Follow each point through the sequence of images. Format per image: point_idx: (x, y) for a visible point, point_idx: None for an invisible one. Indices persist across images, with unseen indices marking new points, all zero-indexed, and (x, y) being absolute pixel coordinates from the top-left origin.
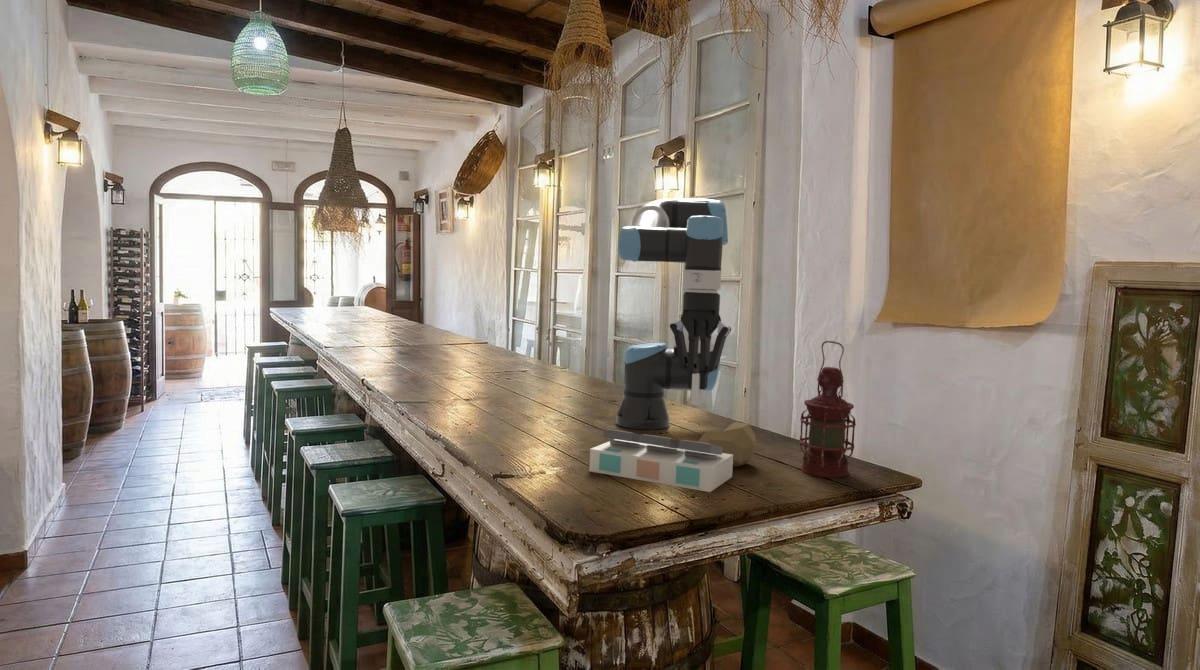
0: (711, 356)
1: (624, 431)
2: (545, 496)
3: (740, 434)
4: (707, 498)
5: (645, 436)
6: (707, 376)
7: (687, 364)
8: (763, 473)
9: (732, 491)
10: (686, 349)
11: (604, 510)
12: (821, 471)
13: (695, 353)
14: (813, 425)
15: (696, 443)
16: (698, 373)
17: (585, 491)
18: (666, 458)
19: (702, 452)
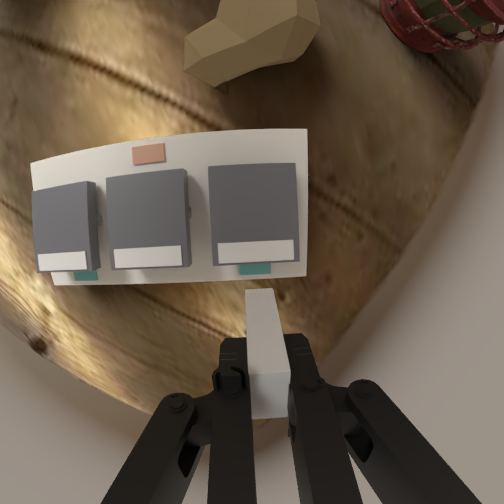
0: (371, 482)
1: (73, 269)
2: (126, 389)
3: (294, 31)
4: (304, 290)
5: (124, 269)
6: (317, 375)
7: (203, 437)
8: (338, 69)
9: (329, 228)
10: (153, 492)
11: None
12: (427, 48)
13: (256, 497)
14: (467, 28)
15: (260, 263)
16: (270, 395)
17: (141, 356)
18: (194, 263)
19: (235, 155)
